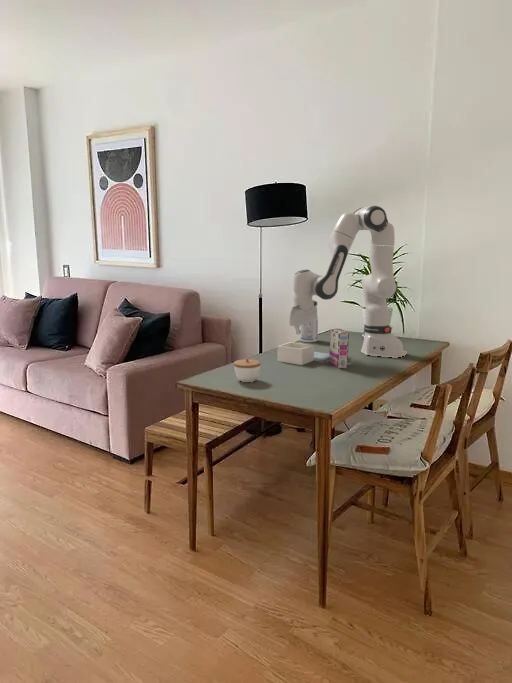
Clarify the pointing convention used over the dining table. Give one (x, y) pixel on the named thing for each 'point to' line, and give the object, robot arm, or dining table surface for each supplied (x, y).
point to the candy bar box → (339, 348)
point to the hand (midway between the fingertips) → (303, 332)
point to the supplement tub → (309, 332)
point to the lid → (321, 356)
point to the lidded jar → (247, 369)
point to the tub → (295, 353)
